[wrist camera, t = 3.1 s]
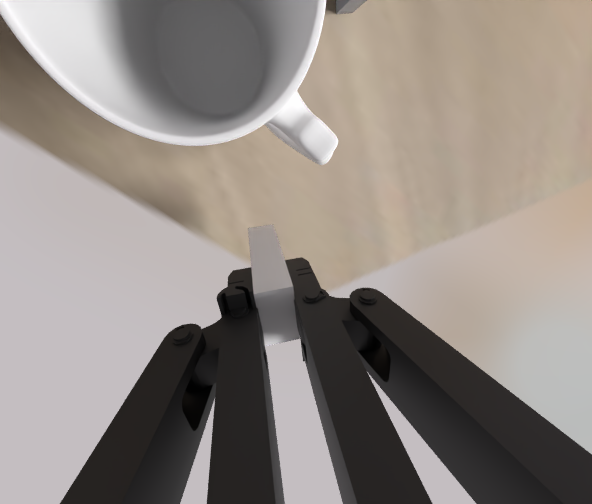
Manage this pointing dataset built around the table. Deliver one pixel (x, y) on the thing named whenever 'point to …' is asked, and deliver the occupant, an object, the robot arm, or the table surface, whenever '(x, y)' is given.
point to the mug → (183, 65)
